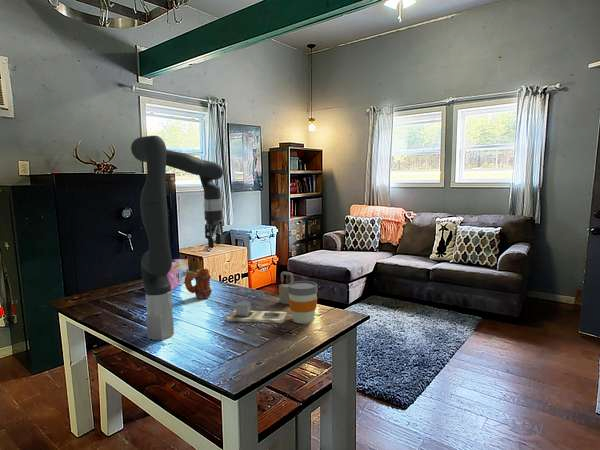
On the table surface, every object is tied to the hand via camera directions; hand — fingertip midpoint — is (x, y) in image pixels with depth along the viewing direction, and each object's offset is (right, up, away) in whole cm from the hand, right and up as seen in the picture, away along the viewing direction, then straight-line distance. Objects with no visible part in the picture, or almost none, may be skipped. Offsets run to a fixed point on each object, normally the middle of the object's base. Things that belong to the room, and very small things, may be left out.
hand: (215, 245), depth 168 cm
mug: (-13, -28, +23) cm, 39 cm away
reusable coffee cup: (+39, -31, -9) cm, 51 cm away
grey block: (+13, -30, -5) cm, 34 cm away
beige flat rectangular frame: (+19, -31, -6) cm, 37 cm away
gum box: (-34, -26, +48) cm, 65 cm away
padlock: (+32, -28, +13) cm, 45 cm away
